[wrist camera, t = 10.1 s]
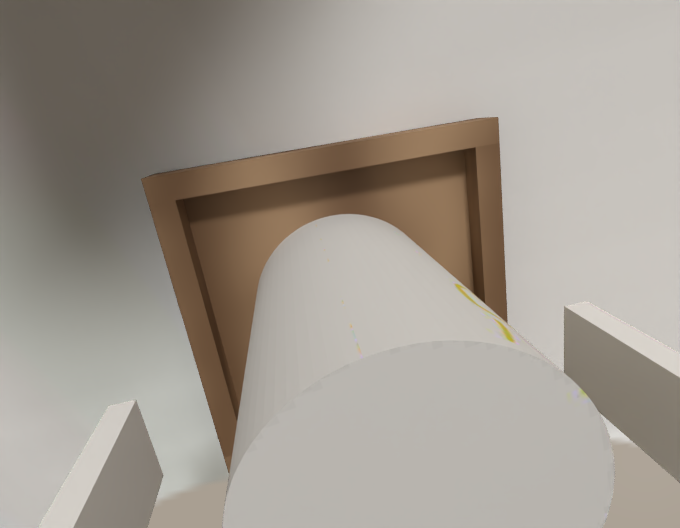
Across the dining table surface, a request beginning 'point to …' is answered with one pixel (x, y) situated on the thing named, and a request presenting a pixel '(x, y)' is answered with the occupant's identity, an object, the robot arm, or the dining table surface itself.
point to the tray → (309, 205)
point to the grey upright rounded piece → (402, 400)
